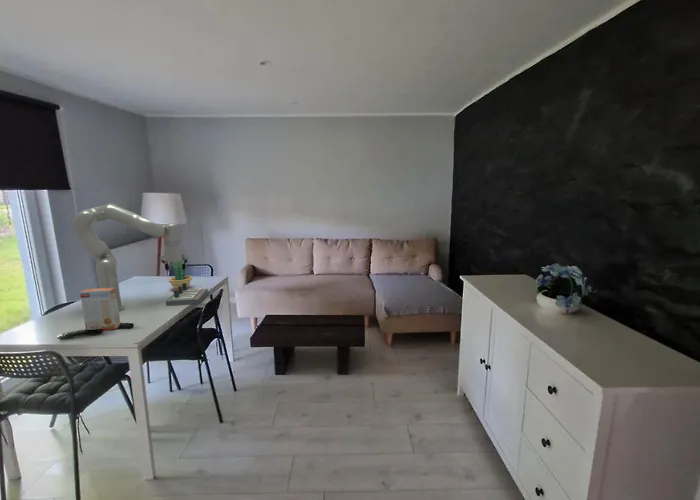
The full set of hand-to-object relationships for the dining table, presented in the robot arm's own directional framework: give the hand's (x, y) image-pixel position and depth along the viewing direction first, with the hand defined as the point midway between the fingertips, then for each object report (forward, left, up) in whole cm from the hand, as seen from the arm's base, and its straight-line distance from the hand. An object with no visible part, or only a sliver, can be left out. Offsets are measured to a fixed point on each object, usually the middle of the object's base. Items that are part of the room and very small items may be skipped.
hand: (175, 270), depth 223 cm
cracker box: (-43, +23, -20) cm, 53 cm away
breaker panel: (0, -6, -20) cm, 20 cm away
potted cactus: (+26, +6, -20) cm, 33 cm away
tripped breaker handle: (0, -2, -15) cm, 15 cm away
